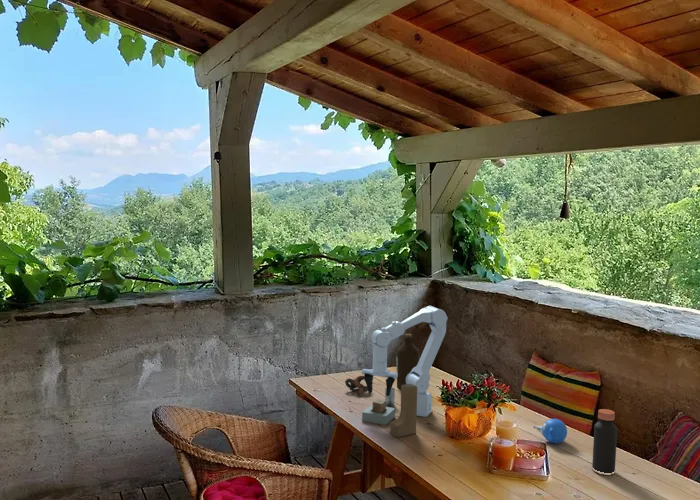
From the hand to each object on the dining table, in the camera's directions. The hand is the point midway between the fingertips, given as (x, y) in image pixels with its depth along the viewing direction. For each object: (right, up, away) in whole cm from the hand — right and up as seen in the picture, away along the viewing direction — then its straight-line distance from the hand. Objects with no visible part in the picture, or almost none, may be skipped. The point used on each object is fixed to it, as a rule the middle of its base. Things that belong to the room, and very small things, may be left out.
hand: (379, 394), depth 241 cm
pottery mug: (-8, -7, +32) cm, 34 cm away
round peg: (+5, -8, +15) cm, 18 cm away
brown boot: (+8, -11, -16) cm, 21 cm away
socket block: (0, -10, -1) cm, 10 cm away
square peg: (0, -10, -1) cm, 10 cm away
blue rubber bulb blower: (+61, -12, -21) cm, 66 cm away
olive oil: (+15, -7, +40) cm, 43 cm away
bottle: (+71, -15, -46) cm, 85 cm away
